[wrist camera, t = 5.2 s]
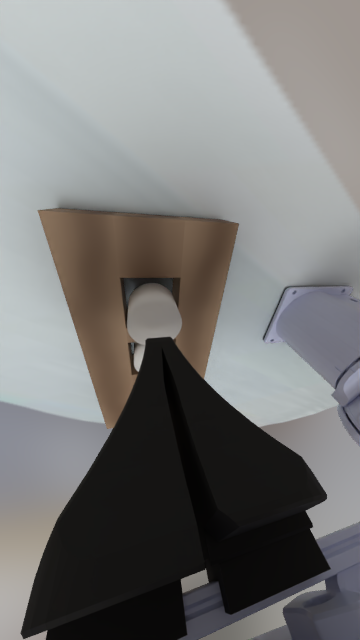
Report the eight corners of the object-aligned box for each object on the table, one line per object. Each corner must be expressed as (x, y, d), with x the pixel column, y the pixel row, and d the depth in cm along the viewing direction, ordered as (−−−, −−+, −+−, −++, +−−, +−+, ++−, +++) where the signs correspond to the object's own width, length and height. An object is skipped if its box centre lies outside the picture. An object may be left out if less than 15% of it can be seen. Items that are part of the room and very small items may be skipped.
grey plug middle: (167, 327, 19) (172, 346, 16) (166, 352, 21) (171, 372, 18) (132, 330, 18) (132, 350, 15) (135, 355, 20) (135, 377, 17)
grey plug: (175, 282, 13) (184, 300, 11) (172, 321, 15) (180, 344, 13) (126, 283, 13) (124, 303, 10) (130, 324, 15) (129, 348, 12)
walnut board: (221, 219, 14) (238, 223, 12) (190, 394, 28) (196, 413, 25) (57, 208, 12) (37, 210, 9) (109, 406, 25) (107, 428, 23)
